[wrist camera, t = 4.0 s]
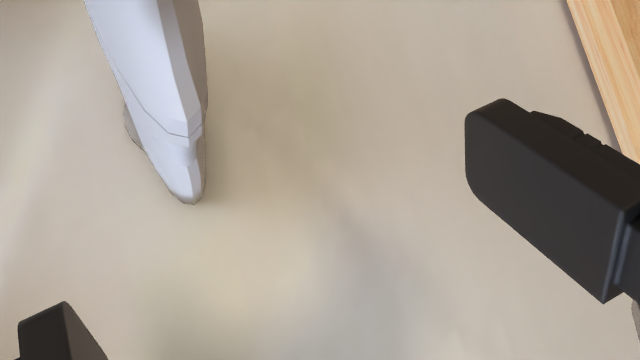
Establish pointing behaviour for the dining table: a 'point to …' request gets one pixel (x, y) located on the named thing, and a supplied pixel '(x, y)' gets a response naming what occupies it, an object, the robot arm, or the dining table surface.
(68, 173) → the dining table surface
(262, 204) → the dining table surface
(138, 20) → the white long tapered piece
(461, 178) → the dining table surface
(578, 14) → the cutting board
